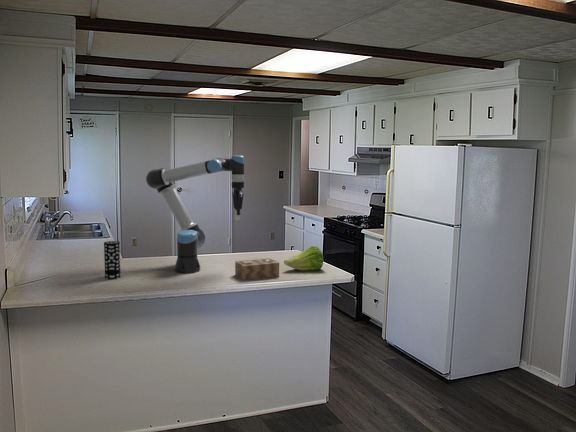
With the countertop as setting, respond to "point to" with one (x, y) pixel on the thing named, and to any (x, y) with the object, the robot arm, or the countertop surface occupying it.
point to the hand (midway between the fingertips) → (237, 220)
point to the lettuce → (306, 260)
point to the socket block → (257, 269)
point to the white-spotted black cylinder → (112, 259)
